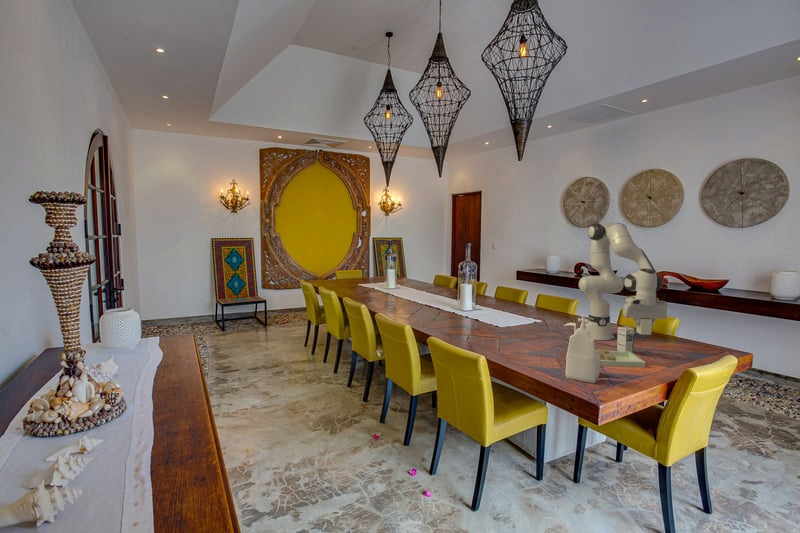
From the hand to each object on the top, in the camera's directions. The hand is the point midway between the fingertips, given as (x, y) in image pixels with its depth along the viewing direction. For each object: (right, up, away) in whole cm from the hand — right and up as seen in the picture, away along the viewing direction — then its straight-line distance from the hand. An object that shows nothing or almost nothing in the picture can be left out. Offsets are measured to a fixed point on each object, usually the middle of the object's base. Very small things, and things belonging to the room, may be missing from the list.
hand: (644, 326), depth 207 cm
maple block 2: (-25, -17, -4) cm, 30 cm away
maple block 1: (-21, -16, 0) cm, 27 cm away
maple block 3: (-22, -17, -8) cm, 29 cm away
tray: (-18, -18, -4) cm, 26 cm away
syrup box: (-4, -17, +11) cm, 20 cm away
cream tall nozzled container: (-44, -20, -22) cm, 53 cm away
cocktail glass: (+26, -13, +46) cm, 55 cm away
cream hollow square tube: (0, -4, 0) cm, 4 cm away
